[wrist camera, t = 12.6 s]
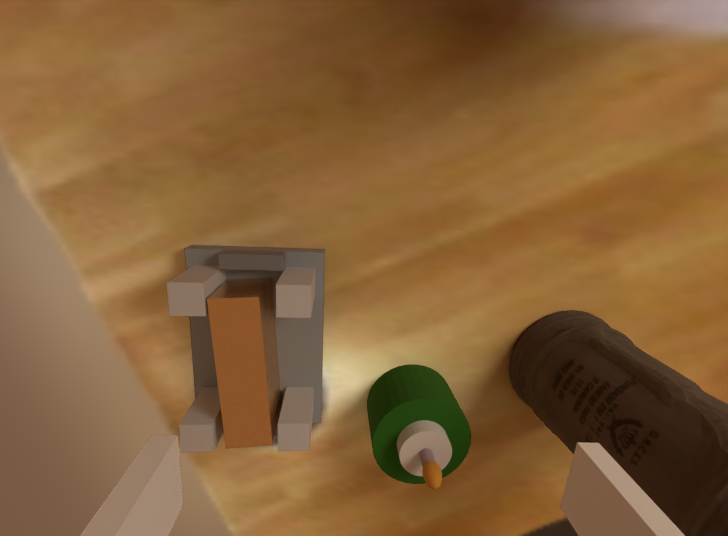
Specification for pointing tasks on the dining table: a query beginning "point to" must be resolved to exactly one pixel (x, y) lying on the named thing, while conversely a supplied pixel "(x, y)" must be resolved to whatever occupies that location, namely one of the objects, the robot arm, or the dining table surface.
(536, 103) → the dining table surface
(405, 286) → the dining table surface
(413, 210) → the dining table surface
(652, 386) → the beer stein
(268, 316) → the block
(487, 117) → the dining table surface
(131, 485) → the robot arm
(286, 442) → the jig
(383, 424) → the candle
